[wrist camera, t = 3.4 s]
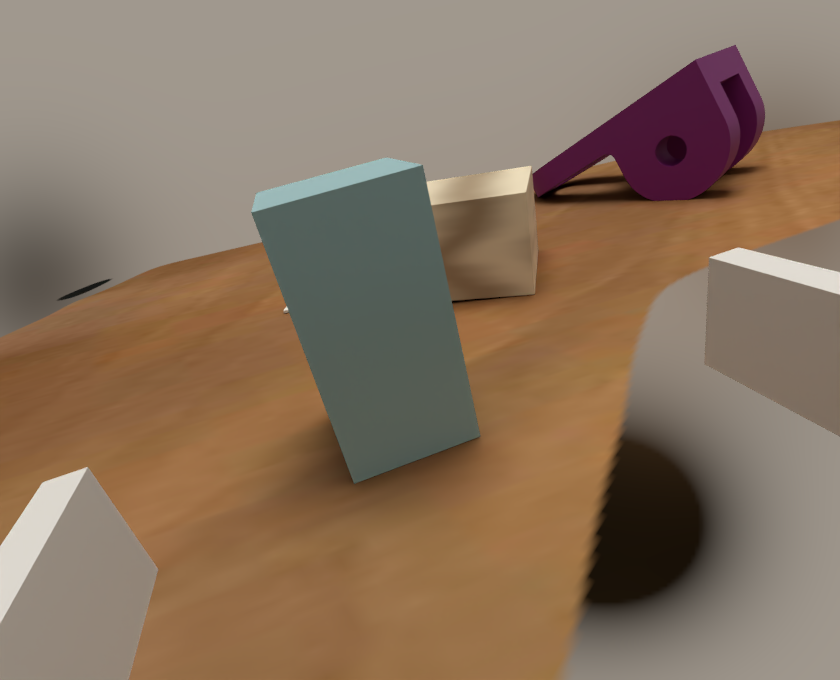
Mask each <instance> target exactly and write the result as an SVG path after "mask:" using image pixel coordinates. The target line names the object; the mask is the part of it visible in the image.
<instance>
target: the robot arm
mask: <svg viewBox="0 0 840 680" xmlns="http://www.w3.org/2000/svg"><path fill="white" fill-rule="evenodd" d="M706 321H707V322H706V342H705V365H707V366H709V367H711V368H713V369H715V370H717V371H719V372H720V373H722V374H724V375H726V376H728V377H730V378H732V379H733V380H735V381H737V382H739V383H741V384H743V385H745V386H746V387H748V388H750V389H752V390H754V391H756V392H758V393H760V394H761V395H763V396H765V397H767V398H769V399H771V400H773V401H774V402H776V403H778V404H780V405H782V406H784V407H786V408H788V409H789V410H791V411H793V412H795V413H797V414H799V415H801V416H803V417H804V418H806V419H808V420H810V421H812V422H814V423H816V424H817V425H819V426H821V427H823V428H825V429H827V430H829V431H831V432H832V433H834V434H836V435H838V436H840V272H836V271H832V270H827V269H823V268H820V267H816V266H811V265H807V264H803V263H799V262H795V261H791V260H787V259H783V258H778V257H775V256H771V255H767V254H763V253H759V252H754V251H750V250H746V249H742V248H736V249H733V250H730V251H727V252H724V253H721V254H718V255H715V256H712V257H709V273H708V297H707V319H706ZM157 572H158V568H157V567H156V565H155V564H154V562H153V561H152V560H151V558H150V557H149V555H148V554H147V552H146V551H145V549H144V548H143V546H142V545H141V544H140V542H139V541H138V539H137V538H136V536H135V535H134V533H133V532H132V530H131V529H130V528H129V526H128V525H127V523H126V522H125V520H124V519H123V517H122V516H121V514H120V513H119V512H118V510H117V509H116V507H115V506H114V504H113V503H112V501H111V500H110V499H109V497H108V496H107V494H106V493H105V491H104V490H103V488H102V487H101V485H100V484H99V483H98V481H97V480H96V478H95V477H94V475H93V474H92V472H91V471H90V469H89V468H88V467H87V468H84V469H81V470H78V471H75V472H72V473H69V474H66V475H63V476H60V477H57V478H54V479H51V480H48V481H45V482H43V483H42V484H41V486H40V487H39V489H38V490H37V492H36V493H35V495H34V496H33V498H32V499H31V501H30V502H29V504H28V505H27V507H26V508H25V510H24V511H23V513H22V514H21V516H20V517H19V519H18V520H17V522H16V523H15V525H14V526H13V528H12V529H11V531H10V532H9V534H8V535H7V537H6V538H5V540H4V541H3V543H2V544H1V546H0V680H129V676H130V673H131V669H132V665H133V661H134V658H135V654H136V650H137V646H138V643H139V639H140V635H141V631H142V628H143V624H144V620H145V617H146V613H147V609H148V605H149V602H150V598H151V594H152V590H153V587H154V583H155V579H156V575H157Z"/></svg>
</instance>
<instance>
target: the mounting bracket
mask: <svg viewBox="0 0 840 680" xmlns="http://www.w3.org/2000/svg"><path fill="white" fill-rule="evenodd" d="M764 120H765V110H764V104H763V101H762V98H761V96H760V94H759V92H758V90H757V88H756V86H755V84H754V82H753V80H752V78H751V76H750V74H749V72H748V70H747V67H746V66H745V63H744V61H743V59H742V57H741V55H740V53H739V51H738V49H737V47H736V45H734V46H731V47H729V48H726V49H723V50H721V51H718V52H715V53H712V54H710V55H707V56H704V57H702V58H699V59H696V60H695V61H693V62H691V63H690V64H689V65H687V66H686V67H684V68H683V69H682V70H680V71H679V72H677V73H676V74H674V75H673V76H671V77H670V78H669V79H667V80H666V81H664V82H663V83H661V84H660V85H659V86H657V87H656V88H654V89H653V90H652V91H650V92H649V93H647V94H646V95H644V96H643V97H641V98H640V99H638V100H637V101H636V102H634V103H633V104H631V105H630V106H628V107H627V108H626V109H624V110H623V111H621V112H620V113H619V114H617V115H616V116H614V117H613V118H611V119H610V120H608V121H607V122H606V123H604V124H603V125H601V126H600V127H598V128H597V129H596V130H594V131H593V132H591V133H590V134H588V135H587V136H586V137H584V138H583V139H581V140H580V141H578V142H577V143H576V144H574V145H573V146H571V147H570V148H568V149H567V150H565V151H564V152H563V153H561V154H560V155H558V156H557V157H555V158H554V159H553V160H551V161H550V162H548V163H547V164H545V165H544V166H543V167H541V168H540V169H538V170H537V171H536V172H535V173H533V174H532V175H533V188H534V191H535V192H536V194H537V196H538V197H540V196H542V195H544V194H546V193H547V192H549V191H551V190H553V189H555V188H557V187H558V186H560V185H562V184H564V183H565V182H567V181H569V180H570V179H572V178H574V177H575V176H577V175H579V174H580V173H582V172H583V171H585V170H587V169H588V168H590V167H592V166H593V165H595V164H596V163H598V162H600V161H601V160H603V159H605V158H606V157H608V156H609V155H612V156H613V157H614V158H615V160H616V162H617V164H618V166H619V167H620V169H621V171H622V173H623V175H624V177H625V179H626V180H627V182H628V183H629V185H630V186H631V187H632V188H633V189H634V190H635V191H636V192H637V193H639V194H640V195H642V196H643V197H645V198H647V199H650V200H653V201H662V200H689V199H691V198H694V197H696V196H698V195H699V194H701V193H703V192H704V191H705V190H707V189H708V188H709V187H710V186H711V185H713V184H714V183H715V182H716V181H717V180H718V179H719V178H721V177H722V176H723V175H724V174H725V172H726V171H727V170H729V169H730V168H732V167H733V166H734V165H736V164H737V163H738V162H739V161H740V160H741V159H743V158H744V157H745V156H746V155H747V154H748V153H749V152H750V151H751V150H752V148H753V147H754V146H755V144H756V143H757V141H758V139H759V137H760V135H761V133H762V130H763V126H764Z"/></svg>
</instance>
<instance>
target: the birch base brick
mask: <svg viewBox="0 0 840 680" xmlns="http://www.w3.org/2000/svg"><path fill="white" fill-rule="evenodd" d="M426 183H427V187H428V192H429V197H430V202H431V206H432V211H433V216H434V220H435V225H436V230H437V235H438V239H439V244H440V249H441V253H442V258H443V263H444V268H445V272H446V277H447V282H448V286H449V291H450V296H451V300H452V301H454V300H467V299H480V298H493V297H506V296H519V295H533V294H535V285H536V273H537V261H538V240H537V227H536V214H535V201H534V188H533V175H532V166H527V167H521V168H514V169H507V170H501V171H494V172H488V173H481V174H475V175H468V176H462V177H455V178H449V179H442V180H435V181H429V182H426Z"/></svg>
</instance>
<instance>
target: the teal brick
mask: <svg viewBox="0 0 840 680" xmlns="http://www.w3.org/2000/svg"><path fill="white" fill-rule="evenodd" d="M251 213H252V216H253V218H254V221H255V223H256V226H257V229H258V231H259V234H260V237H261V239H262V242H263V245H264V247H265V250H266V252H267V255H268V258H269V260H270V263H271V266H272V268H273V271H274V274H275V276H276V279H277V282H278V284H279V287H280V289H281V292H282V295H283V297H284V300H285V303H286V305H287V308H288V311H289V313H290V316H291V318H292V321H293V324H294V326H295V329H296V332H297V334H298V337H299V340H300V342H301V345H302V347H303V350H304V353H305V355H306V358H307V361H308V363H309V366H310V369H311V371H312V374H313V377H314V379H315V382H316V384H317V387H318V390H319V392H320V395H321V398H322V400H323V403H324V406H325V408H326V411H327V413H328V416H329V419H330V421H331V424H332V427H333V429H334V432H335V435H336V437H337V440H338V442H339V445H340V448H341V450H342V453H343V456H344V458H345V461H346V464H347V466H348V469H349V472H350V474H351V477H352V479H353V482H354V484H355V483H358V482H360V481H363V480H366V479H368V478H371V477H374V476H376V475H379V474H382V473H384V472H387V471H390V470H392V469H395V468H398V467H400V466H403V465H406V464H408V463H411V462H414V461H416V460H419V459H422V458H424V457H427V456H430V455H432V454H435V453H438V452H440V451H443V450H446V449H448V448H451V447H453V446H456V445H459V444H461V443H464V442H467V441H469V440H472V439H475V438H477V437H480V432H479V428H478V423H477V418H476V413H475V409H474V404H473V399H472V395H471V390H470V385H469V381H468V376H467V371H466V366H465V362H464V357H463V352H462V348H461V343H460V338H459V333H458V329H457V324H456V319H455V315H454V310H453V305H452V300H451V296H450V291H449V286H448V282H447V277H446V272H445V268H444V263H443V258H442V253H441V249H440V244H439V239H438V235H437V230H436V225H435V220H434V216H433V211H432V206H431V202H430V197H429V192H428V187H427V183H426V179H425V173H424V169H423V165H420V164H415V163H410V162H406V161H401V160H395V159H391V158H383V159H380V160H376V161H372V162H369V163H365V164H361V165H358V166H354V167H350V168H347V169H343V170H339V171H335V172H332V173H328V174H324V175H321V176H317V177H313V178H310V179H306V180H302V181H299V182H295V183H291V184H287V185H284V186H280V187H276V188H273V189H269V190H266V191H262V192H258V193H256V197H255V201H254V204H253V209H252V212H251Z"/></svg>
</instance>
